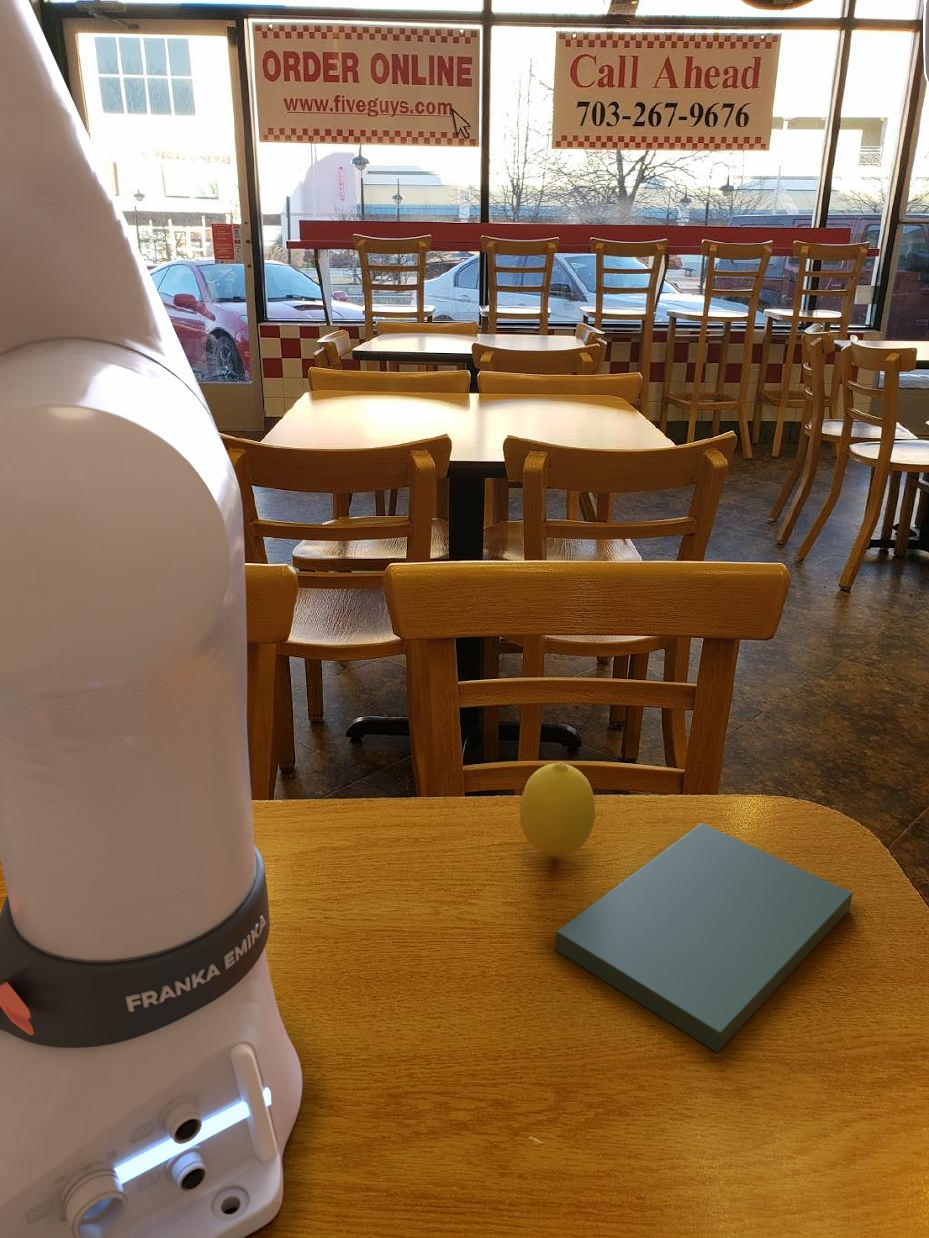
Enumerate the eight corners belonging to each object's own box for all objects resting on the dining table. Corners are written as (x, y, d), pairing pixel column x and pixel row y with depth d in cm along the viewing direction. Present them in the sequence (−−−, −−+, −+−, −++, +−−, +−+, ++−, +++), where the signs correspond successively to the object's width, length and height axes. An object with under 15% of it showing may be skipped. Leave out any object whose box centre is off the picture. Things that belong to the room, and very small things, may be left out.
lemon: (582, 885, 68) (590, 789, 65) (508, 868, 69) (513, 774, 66) (597, 843, 73) (605, 752, 70) (528, 828, 74) (533, 739, 71)
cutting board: (717, 1053, 54) (720, 1033, 53) (554, 949, 61) (555, 931, 61) (849, 910, 66) (853, 892, 65) (699, 838, 74) (701, 822, 73)
